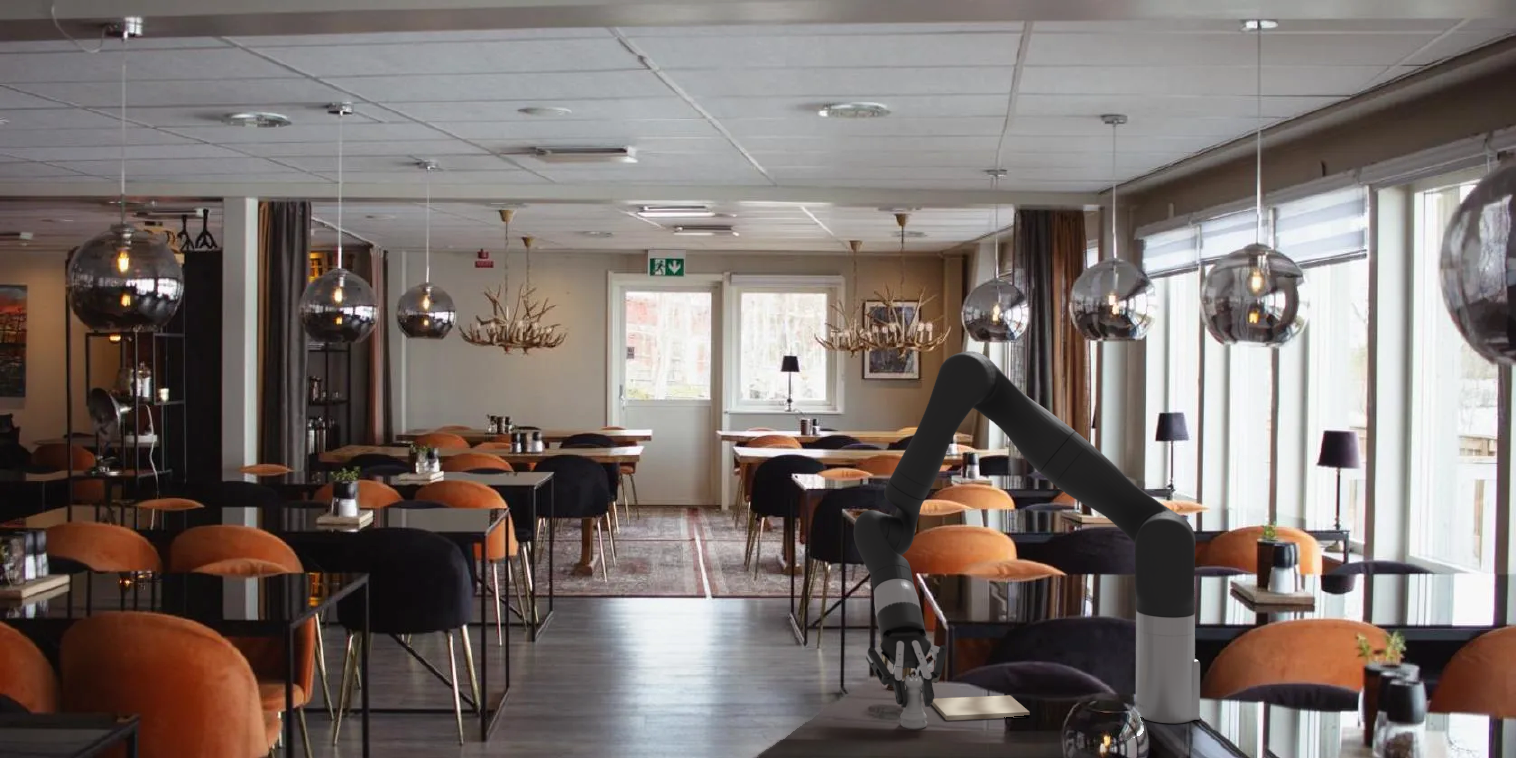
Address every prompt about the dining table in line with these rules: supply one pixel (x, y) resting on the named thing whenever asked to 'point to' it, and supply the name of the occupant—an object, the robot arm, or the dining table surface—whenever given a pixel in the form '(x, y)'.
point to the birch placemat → (979, 707)
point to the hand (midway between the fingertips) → (916, 704)
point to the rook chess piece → (913, 704)
